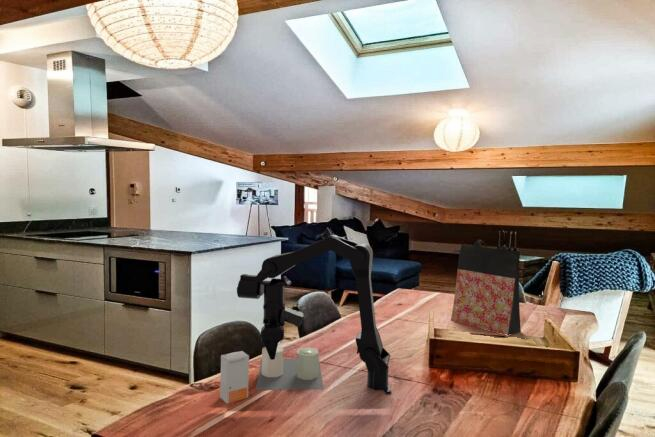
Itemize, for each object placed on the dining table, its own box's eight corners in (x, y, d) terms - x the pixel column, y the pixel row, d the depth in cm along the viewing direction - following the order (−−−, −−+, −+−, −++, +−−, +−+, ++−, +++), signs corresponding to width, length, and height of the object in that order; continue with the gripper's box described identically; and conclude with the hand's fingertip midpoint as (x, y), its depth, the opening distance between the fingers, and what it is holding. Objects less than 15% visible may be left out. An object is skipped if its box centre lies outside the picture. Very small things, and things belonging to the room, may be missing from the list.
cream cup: (282, 377, 127) (283, 352, 127) (261, 377, 127) (261, 353, 127) (283, 368, 133) (283, 345, 133) (262, 369, 133) (263, 345, 133)
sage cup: (318, 379, 126) (319, 355, 126) (297, 379, 126) (297, 355, 125) (317, 371, 132) (317, 347, 132) (296, 371, 132) (297, 347, 131)
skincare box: (226, 407, 111) (227, 360, 110) (219, 400, 115) (220, 354, 114) (249, 401, 115) (249, 355, 114) (241, 394, 118) (242, 350, 117)
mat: (323, 392, 120) (323, 389, 120) (255, 393, 119) (255, 389, 119) (318, 361, 142) (318, 358, 142) (261, 362, 141) (261, 358, 141)
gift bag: (524, 330, 180) (528, 243, 178) (505, 337, 171) (509, 245, 169) (461, 313, 203) (464, 236, 201) (441, 319, 194) (444, 238, 192)
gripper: (302, 308, 120) (302, 365, 121) (301, 292, 139) (300, 342, 140) (260, 308, 119) (260, 366, 120) (264, 292, 138) (264, 342, 139)
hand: (273, 353), depth 130 cm, fingers open, 9 cm apart
